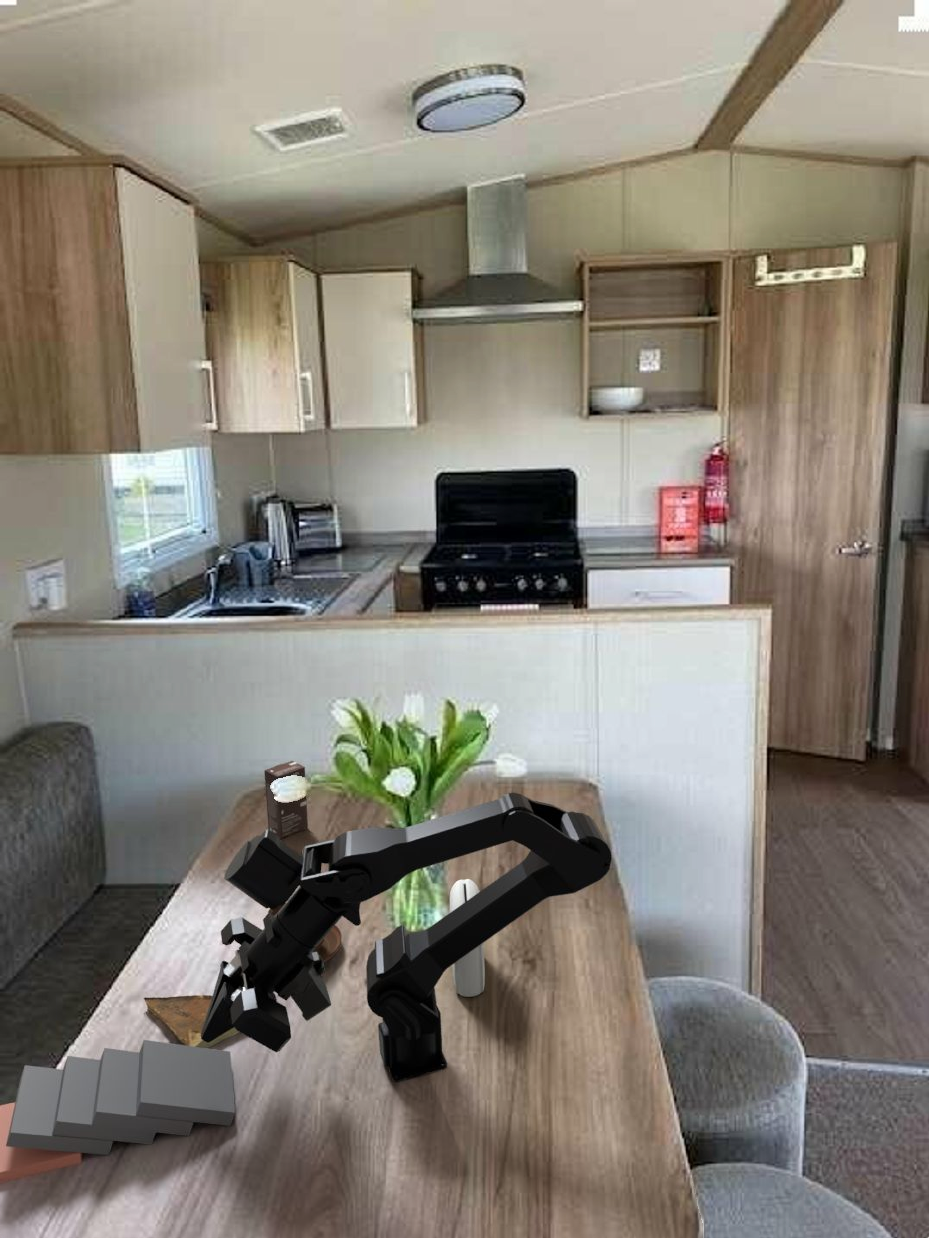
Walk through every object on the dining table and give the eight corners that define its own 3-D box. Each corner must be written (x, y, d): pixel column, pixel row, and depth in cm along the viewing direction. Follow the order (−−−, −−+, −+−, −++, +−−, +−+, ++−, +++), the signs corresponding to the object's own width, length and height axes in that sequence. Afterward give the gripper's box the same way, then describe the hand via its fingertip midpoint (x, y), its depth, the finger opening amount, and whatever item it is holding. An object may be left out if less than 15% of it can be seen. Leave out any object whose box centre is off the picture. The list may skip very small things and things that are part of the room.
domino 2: (88, 1085, 105) (-9, 1107, 102) (80, 1153, 96) (-28, 1178, 93) (90, 1097, 105) (-7, 1119, 103) (82, 1165, 96) (-25, 1192, 93)
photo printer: (451, 952, 129) (448, 871, 126) (482, 950, 129) (479, 869, 126) (453, 999, 119) (449, 913, 116) (486, 997, 120) (483, 911, 116)
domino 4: (193, 1059, 108) (104, 1047, 105) (193, 1122, 99) (96, 1111, 95) (188, 1071, 108) (100, 1060, 105) (188, 1135, 99) (91, 1125, 96)
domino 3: (158, 1067, 107) (67, 1055, 104) (156, 1131, 98) (56, 1120, 94) (153, 1079, 107) (63, 1068, 104) (151, 1144, 98) (52, 1134, 95)
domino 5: (230, 1051, 109) (143, 1039, 106) (235, 1112, 100) (140, 1101, 97) (225, 1063, 110) (139, 1052, 106) (230, 1125, 100) (135, 1115, 97)
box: (282, 840, 163) (276, 776, 160) (268, 832, 166) (262, 769, 163) (310, 828, 167) (305, 765, 164) (296, 820, 170) (291, 759, 167)
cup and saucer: (238, 970, 127) (234, 930, 126) (284, 923, 138) (280, 885, 137) (316, 986, 123) (313, 945, 122) (357, 936, 134) (354, 898, 133)
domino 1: (118, 1075, 106) (24, 1065, 102) (113, 1141, 97) (10, 1132, 93) (113, 1088, 106) (20, 1077, 103) (108, 1154, 97) (5, 1146, 93)
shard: (144, 1009, 120) (142, 995, 120) (211, 978, 126) (209, 964, 126) (190, 1061, 111) (188, 1045, 110) (260, 1025, 117) (258, 1010, 116)
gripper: (368, 1014, 98) (271, 1130, 97) (336, 920, 115) (253, 1019, 114) (286, 963, 93) (184, 1085, 93) (266, 875, 111) (179, 977, 110)
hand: (204, 1039), depth 103 cm, fingers closed
